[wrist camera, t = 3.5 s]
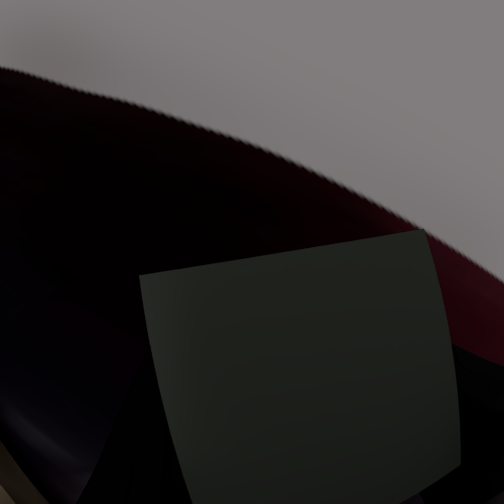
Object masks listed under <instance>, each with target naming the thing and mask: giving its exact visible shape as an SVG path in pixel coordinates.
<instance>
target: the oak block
mask: <svg viewBox="0 0 504 504" xmlns="http://www.w3.org/2000/svg"><path fill="white" fill-rule="evenodd" d="M0 504H49V503H48V502H47V500H46V499H45V498H44V497H43V496H42V495H41V494H40V492H39V491H38V490H37V489H36V488H35V486H34V485H33V484H32V483H31V482H30V480H29V479H28V478H27V477H26V475H25V474H24V473H23V471H22V470H21V469H20V467H19V466H18V465H17V463H16V462H15V461H14V459H13V458H12V456H11V455H10V454H9V452H8V451H7V449H6V448H5V446H4V445H3V443H2V442H1V440H0Z"/></svg>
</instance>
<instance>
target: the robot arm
mask: <svg viewBox="0 0 504 504" xmlns="http://www.w3.org/2000/svg"><path fill="white" fill-rule="evenodd" d="M451 346H452V352H453V359H454V366H455V374H456V382H457V392H458V403H459V417H460V440H461V465H460V466H458V467H457V468H455V469H454V470H453V471H451V472H450V473H448V474H447V475H445V476H444V477H442V478H441V479H439V480H438V481H436V482H435V483H433V484H432V485H430V486H428V487H427V488H425V489H424V490H422V491H420V492H419V493H420V495H421V497H422V499H423V501H424V503H425V504H504V366H502V365H499V364H497V363H494V362H492V361H489V360H487V359H484V358H482V357H480V356H477V355H475V354H473V353H471V352H469V351H467V350H464V349H462V348H460V347H458V346H456V345H454V344H451ZM109 437H110V438H111V439H110V438H108V439H107V442H106V444H105V447H104V449H103V452H102V454H101V456H100V458H99V461H98V463H97V465H96V467H95V469H94V471H93V473H92V475H91V477H90V479H89V481H88V483H87V485H86V487H85V488H84V490H83V492H82V494H81V496H80V497H79V499H78V501H77V503H76V504H193V503H192V500H191V497H190V495H189V492H188V489H187V486H186V483H185V480H184V477H183V473H182V470H181V467H180V464H179V461H178V457H177V454H176V450H175V447H174V444H173V440H172V436H171V433H170V429H169V425H168V422H167V418H166V414H165V410H164V406H163V402H162V397H161V393H160V389H159V384H158V380H157V375H156V371H155V366H154V361H153V356H152V351H151V346H150V345H149V347H148V349H147V352H146V354H145V356H144V358H143V360H142V362H141V365H140V367H139V369H138V371H137V373H136V375H135V378H134V380H133V382H132V384H131V387H130V389H129V391H128V393H127V396H126V398H125V400H124V402H123V405H122V407H121V409H120V412H119V414H118V416H117V418H116V421H115V423H114V426H113V428H112V430H111V433H110V435H109Z"/></svg>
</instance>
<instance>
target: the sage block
mask: <svg viewBox="0 0 504 504" xmlns="http://www.w3.org/2000/svg"><path fill="white" fill-rule="evenodd" d="M139 278H140V285H141V292H142V299H143V306H144V312H145V318H146V324H147V330H148V335H149V341H150V346H151V351H152V356H153V361H154V366H155V371H156V375H157V380H158V384H159V389H160V393H161V397H162V402H163V406H164V410H165V414H166V418H167V422H168V425H169V429H170V433H171V436H172V440H173V444H174V447H175V450H176V454H177V457H178V461H179V464H180V467H181V470H182V473H183V477H184V480H185V483H186V486H187V489H188V492H189V495H190V497H191V500H192V503H193V504H399V503H401V502H403V501H405V500H407V499H408V498H410V497H412V496H414V495H415V494H417V493H419V492H420V491H422V490H424V489H425V488H427V487H428V486H430V485H432V484H433V483H435V482H436V481H438V480H439V479H441V478H442V477H444V476H445V475H447V474H448V473H450V472H451V471H453V470H454V469H455V468H457V467H458V466H460V465H461V440H460V417H459V403H458V392H457V382H456V374H455V366H454V359H453V352H452V346H451V339H450V334H449V328H448V323H447V318H446V313H445V308H444V303H443V299H442V294H441V290H440V286H439V281H438V277H437V273H436V270H435V266H434V262H433V258H432V255H431V251H430V248H429V244H428V241H427V238H426V234H425V231H424V229H421V230H415V231H409V232H403V233H397V234H391V235H385V236H379V237H373V238H367V239H361V240H355V241H349V242H343V243H337V244H331V245H325V246H319V247H313V248H307V249H301V250H295V251H288V252H282V253H276V254H270V255H264V256H258V257H252V258H246V259H239V260H233V261H227V262H221V263H215V264H208V265H202V266H196V267H190V268H183V269H177V270H171V271H165V272H158V273H152V274H146V275H139Z"/></svg>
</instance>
